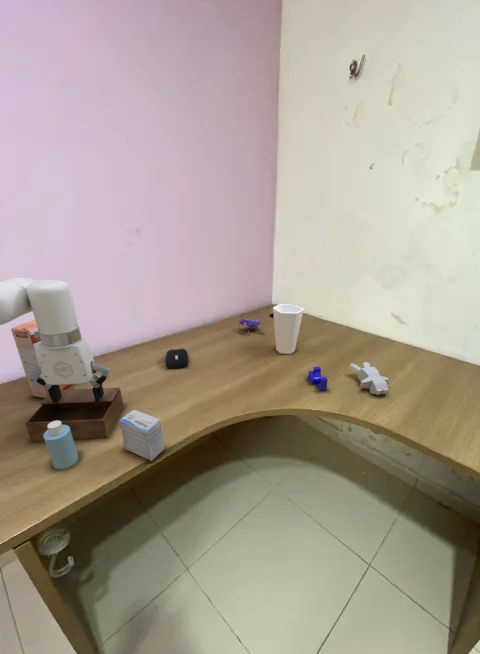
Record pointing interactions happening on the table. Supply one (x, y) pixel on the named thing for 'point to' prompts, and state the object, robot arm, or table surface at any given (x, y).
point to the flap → (82, 396)
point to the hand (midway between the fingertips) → (78, 399)
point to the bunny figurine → (371, 379)
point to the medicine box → (142, 434)
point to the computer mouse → (176, 358)
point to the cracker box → (30, 355)
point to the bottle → (60, 445)
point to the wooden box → (77, 418)
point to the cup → (286, 326)
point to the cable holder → (318, 378)
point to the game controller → (249, 323)
